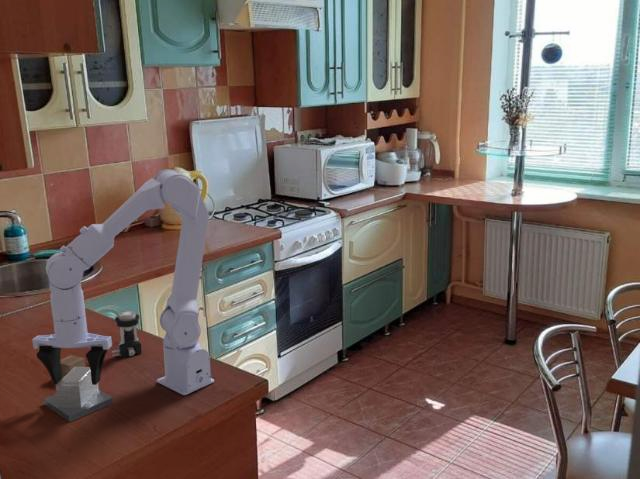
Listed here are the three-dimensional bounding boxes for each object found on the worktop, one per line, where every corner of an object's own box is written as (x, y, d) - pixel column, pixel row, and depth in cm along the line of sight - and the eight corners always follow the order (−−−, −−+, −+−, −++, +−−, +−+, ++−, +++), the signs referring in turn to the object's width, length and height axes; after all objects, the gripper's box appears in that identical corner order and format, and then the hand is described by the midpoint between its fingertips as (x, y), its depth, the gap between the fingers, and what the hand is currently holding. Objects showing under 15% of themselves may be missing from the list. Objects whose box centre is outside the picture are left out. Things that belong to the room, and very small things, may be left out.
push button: (115, 362, 136) (111, 320, 134) (109, 353, 141) (106, 313, 138) (145, 355, 140) (141, 314, 138) (138, 347, 144) (135, 307, 142)
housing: (81, 407, 114) (78, 384, 113) (58, 407, 114) (55, 384, 113) (98, 387, 122) (96, 365, 121) (77, 387, 122) (74, 365, 121)
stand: (113, 403, 118) (113, 397, 118) (69, 421, 112) (69, 416, 111) (87, 387, 125) (86, 382, 124) (44, 404, 118) (43, 398, 118)
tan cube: (86, 375, 130) (84, 358, 129) (71, 383, 127) (69, 365, 126) (72, 371, 132) (71, 354, 131) (58, 379, 128) (55, 362, 128)
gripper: (115, 308, 117) (121, 373, 121) (42, 308, 118) (50, 372, 121) (100, 322, 110) (107, 390, 114) (23, 321, 111) (32, 388, 114)
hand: (77, 382), depth 117 cm, fingers open, 7 cm apart
